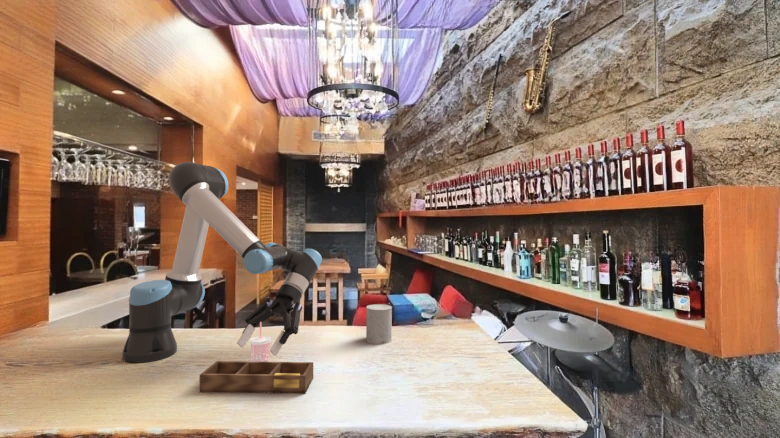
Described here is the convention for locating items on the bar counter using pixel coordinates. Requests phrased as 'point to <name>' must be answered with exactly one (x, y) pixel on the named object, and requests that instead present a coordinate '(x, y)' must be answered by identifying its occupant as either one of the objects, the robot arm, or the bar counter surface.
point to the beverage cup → (260, 347)
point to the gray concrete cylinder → (379, 324)
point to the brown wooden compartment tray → (257, 377)
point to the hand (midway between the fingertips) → (255, 349)
